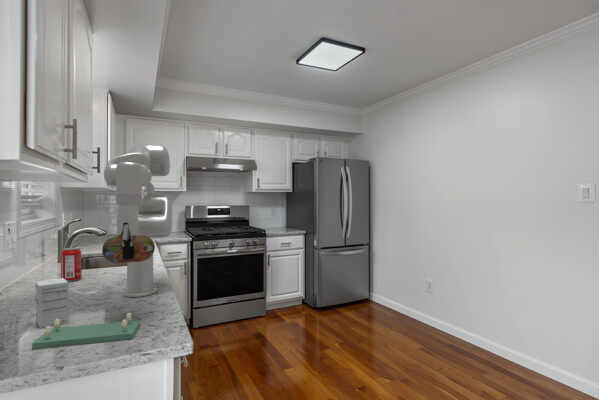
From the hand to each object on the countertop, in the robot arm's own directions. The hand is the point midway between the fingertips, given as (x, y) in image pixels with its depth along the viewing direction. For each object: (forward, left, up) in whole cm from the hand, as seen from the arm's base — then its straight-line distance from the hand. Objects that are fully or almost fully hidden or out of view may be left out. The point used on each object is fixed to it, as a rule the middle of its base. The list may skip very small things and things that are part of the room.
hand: (129, 257), depth 106 cm
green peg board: (+14, -7, -19) cm, 24 cm away
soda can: (-59, -37, -19) cm, 72 cm away
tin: (0, 0, -1) cm, 2 cm away
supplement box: (-1, -22, -19) cm, 29 cm away
